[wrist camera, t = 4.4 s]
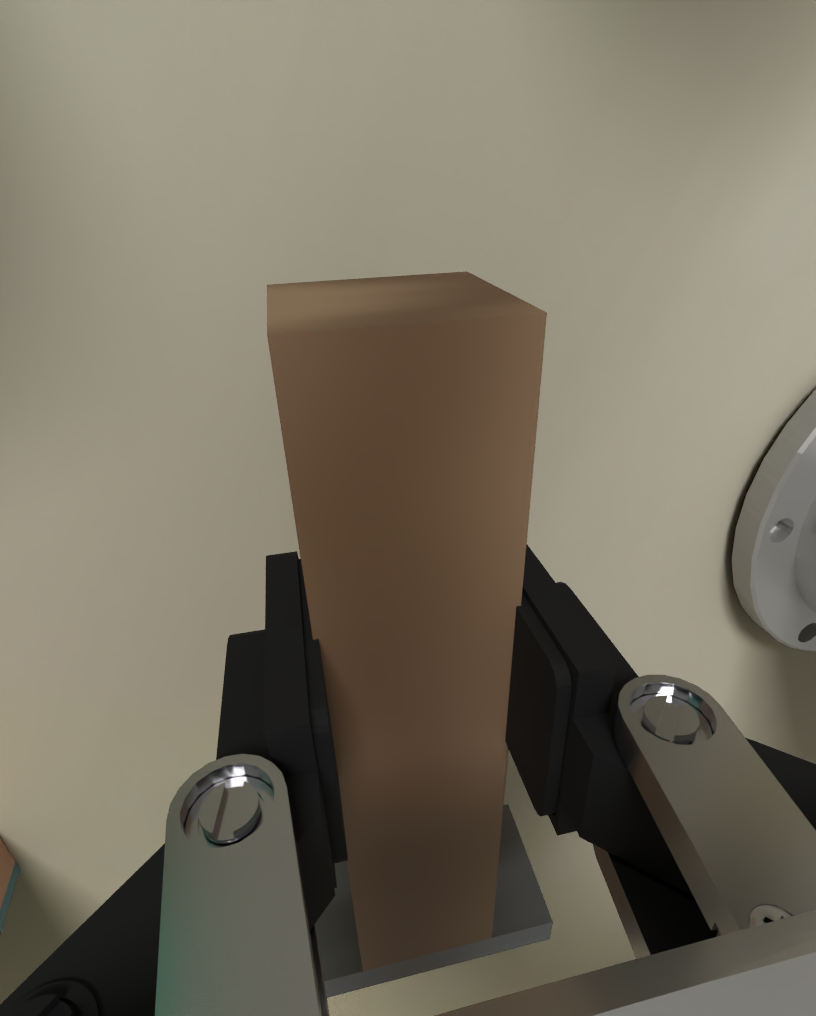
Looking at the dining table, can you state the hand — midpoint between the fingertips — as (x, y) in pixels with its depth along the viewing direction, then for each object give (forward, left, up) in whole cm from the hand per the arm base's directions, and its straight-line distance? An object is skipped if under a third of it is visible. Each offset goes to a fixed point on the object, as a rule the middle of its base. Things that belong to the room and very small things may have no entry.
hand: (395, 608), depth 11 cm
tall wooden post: (0, +2, -1) cm, 2 cm away
